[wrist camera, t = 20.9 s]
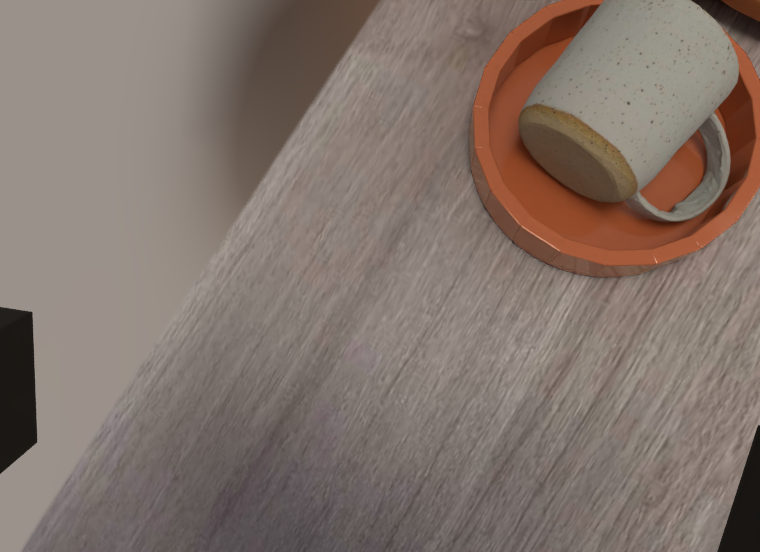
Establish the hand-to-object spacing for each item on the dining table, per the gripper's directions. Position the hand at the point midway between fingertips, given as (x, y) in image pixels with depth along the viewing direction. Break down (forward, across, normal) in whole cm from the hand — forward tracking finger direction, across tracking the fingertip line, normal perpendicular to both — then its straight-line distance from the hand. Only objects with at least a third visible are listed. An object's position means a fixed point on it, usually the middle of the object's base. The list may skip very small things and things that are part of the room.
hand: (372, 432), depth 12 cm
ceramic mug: (+27, +10, +4) cm, 29 cm away
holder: (+28, +9, +4) cm, 29 cm away
